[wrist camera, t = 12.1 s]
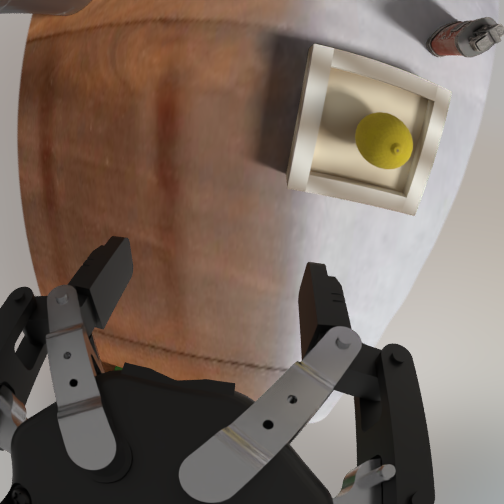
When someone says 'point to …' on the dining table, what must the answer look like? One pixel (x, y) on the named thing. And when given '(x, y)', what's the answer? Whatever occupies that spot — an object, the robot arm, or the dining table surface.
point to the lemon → (384, 140)
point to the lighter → (465, 38)
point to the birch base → (345, 124)
